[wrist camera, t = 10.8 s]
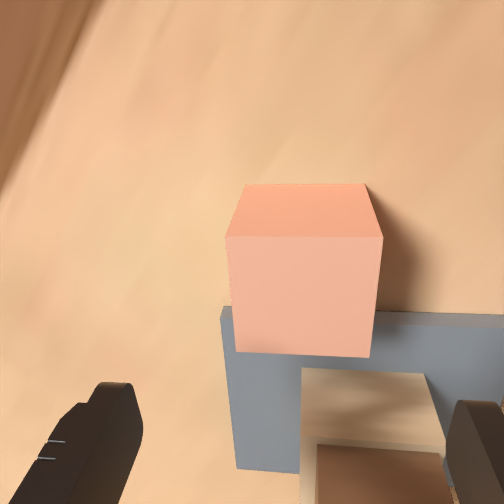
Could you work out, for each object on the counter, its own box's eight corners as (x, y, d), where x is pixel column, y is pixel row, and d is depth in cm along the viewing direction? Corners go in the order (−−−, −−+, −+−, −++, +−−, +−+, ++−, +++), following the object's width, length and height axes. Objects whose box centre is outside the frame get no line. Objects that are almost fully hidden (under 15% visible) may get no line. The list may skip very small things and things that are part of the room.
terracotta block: (364, 182, 17) (383, 237, 13) (355, 283, 19) (369, 357, 15) (245, 184, 18) (225, 236, 13) (251, 281, 20) (236, 351, 16)
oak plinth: (423, 373, 20) (447, 446, 17) (407, 450, 23) (425, 526, 20) (301, 367, 21) (300, 435, 17) (300, 442, 24) (299, 514, 20)
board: (517, 315, 19) (527, 329, 18) (465, 472, 25) (471, 488, 24) (223, 306, 21) (220, 318, 20) (239, 454, 27) (236, 468, 26)
